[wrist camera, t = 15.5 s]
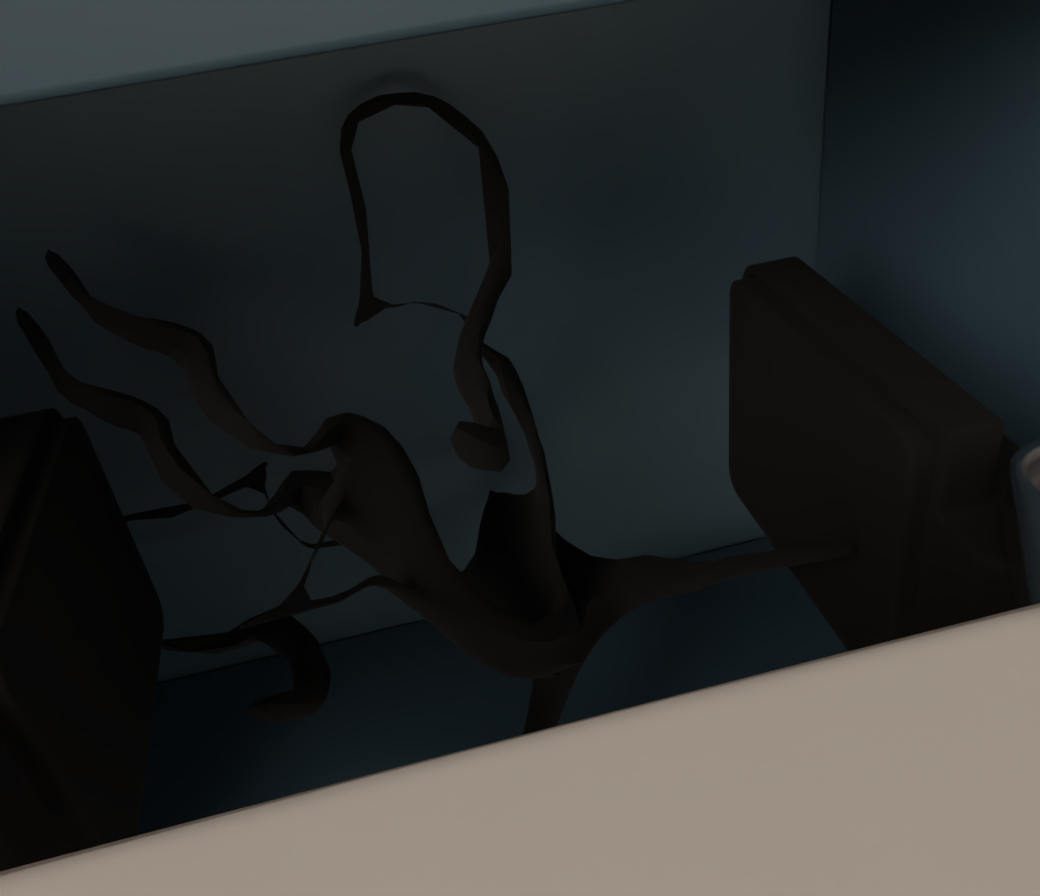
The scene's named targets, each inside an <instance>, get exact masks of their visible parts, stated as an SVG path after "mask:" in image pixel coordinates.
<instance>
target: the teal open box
mask: <svg viewBox="0 0 1040 896" xmlns="http://www.w3.org/2000/svg"><path fill="white" fill-rule="evenodd" d="M404 92H418V93H422V94H427V95H431V96H435V97H437V98H439V99H441V100H443V101H445V102H447V103H449V104H450V105H452V106H453V107H454V108H455V109H457V110H458V111H459V112H461V113H462V114H463V115H465V116H466V117H467V118H468V119H469V120H470V121H472V122H473V123H474V124H475V125H476V126H477V127H478V128H479V129H481V130H482V131H483V133H484V135H485V136H486V138H487V140H488V141H489V143H490V145H491V146H492V148H493V150H494V151H495V153H496V155H497V157H498V160H499V163H500V166H501V168H502V171H503V174H504V177H505V179H506V182H507V185H508V188H509V206H510V236H511V262H512V275H511V277H510V279H509V281H508V283H507V284H506V286H505V288H504V290H503V292H502V293H501V295H500V297H499V299H498V301H497V304H496V307H495V311H494V314H493V317H492V320H491V323H490V325H489V327H488V329H487V332H486V335H485V338H484V342H483V343H485V344H486V345H488V346H489V347H491V348H493V349H494V350H496V351H498V352H499V353H501V354H503V355H505V356H506V357H508V358H509V359H510V361H511V362H512V364H513V365H514V367H515V369H516V371H517V373H518V375H519V378H520V380H521V382H522V384H523V387H524V389H525V393H526V396H527V399H528V402H529V405H530V408H531V411H532V414H533V418H534V421H535V425H536V428H537V432H538V436H539V439H540V441H541V444H542V447H543V449H544V453H545V458H546V464H547V469H548V474H549V479H550V484H551V490H552V496H553V502H554V509H555V516H556V532H557V533H558V534H560V535H561V536H562V537H563V538H564V539H565V540H566V541H567V542H569V543H571V544H572V545H574V546H576V547H577V548H579V549H581V550H582V551H584V552H586V553H587V554H589V555H591V556H596V557H603V558H610V559H623V558H630V557H636V556H641V555H651V556H657V557H663V558H670V559H679V560H687V561H714V560H717V559H721V558H725V557H728V556H733V555H738V554H745V553H754V552H763V551H772V550H776V549H775V548H774V546H773V545H772V543H771V542H770V541H769V539H768V538H767V536H766V535H765V534H764V532H763V531H762V529H761V528H760V527H759V525H758V524H757V522H756V521H755V519H754V518H753V517H752V515H751V514H750V512H749V511H748V510H747V508H746V507H745V505H744V504H743V503H742V501H741V500H740V498H739V497H738V495H737V494H736V492H735V490H734V488H733V485H732V482H731V478H730V473H729V309H730V288H731V285H732V283H733V282H734V281H735V280H740V279H742V277H743V274H744V271H745V269H746V268H747V266H749V265H753V264H758V263H763V262H768V261H773V260H778V259H783V258H788V257H793V256H795V257H797V258H800V259H801V260H802V261H803V262H805V263H806V264H807V265H808V266H810V267H811V268H812V269H813V270H815V271H816V272H817V273H818V274H820V275H821V276H822V277H823V278H825V279H826V280H827V281H828V282H830V283H831V284H832V285H833V286H835V287H836V288H837V289H838V290H840V291H841V292H842V293H843V294H845V295H846V296H847V297H848V298H850V299H851V300H852V301H853V302H855V303H856V304H857V305H859V306H860V307H861V308H862V309H864V310H865V311H866V312H867V313H869V314H870V315H871V316H872V317H874V318H875V319H876V320H877V321H879V322H880V323H881V324H882V325H884V326H885V327H886V328H887V329H889V330H890V331H891V332H892V333H894V334H895V335H896V336H897V337H899V338H900V339H901V340H902V341H904V342H905V343H906V344H907V345H909V346H910V347H911V348H912V349H914V350H915V351H916V352H917V353H919V354H920V355H921V356H922V357H924V358H925V359H926V360H927V361H929V362H930V363H931V364H933V365H934V366H935V367H936V368H938V369H939V370H940V371H941V372H943V373H944V374H945V375H946V376H948V377H949V378H950V379H951V380H953V381H954V382H955V383H956V384H958V385H959V386H960V387H961V388H963V389H964V390H965V391H966V392H968V393H969V394H970V395H971V396H973V397H974V398H975V399H976V400H978V401H979V402H980V403H981V404H983V405H984V406H985V407H986V408H988V409H989V410H990V411H991V412H993V413H994V414H995V415H996V416H998V417H999V418H1000V419H1001V420H1003V421H1004V422H1005V425H1004V430H1003V434H1004V435H1005V436H1006V437H1008V438H1009V439H1010V440H1011V441H1013V442H1014V443H1015V444H1016V445H1018V446H1019V447H1020V448H1022V447H1024V446H1026V445H1028V444H1030V443H1032V442H1034V441H1036V440H1039V439H1040V0H0V418H5V417H10V416H15V415H20V414H25V413H29V412H34V411H39V410H44V409H49V408H54V409H55V410H57V411H58V412H59V413H60V414H61V416H62V417H63V419H65V418H70V417H77V418H78V419H79V420H80V421H81V422H82V424H83V426H84V428H85V429H86V432H87V434H88V436H89V439H90V441H91V443H92V445H93V448H94V450H95V452H96V455H97V457H98V459H99V461H100V464H101V466H102V468H103V471H104V473H105V475H106V478H107V480H108V482H109V484H110V487H111V489H112V491H113V494H114V496H115V498H116V500H117V503H118V505H119V507H120V510H121V512H122V514H123V516H126V515H131V514H135V513H139V512H145V511H150V510H155V509H160V508H165V507H171V506H176V505H181V504H186V502H185V501H184V500H183V499H182V498H181V497H179V496H178V495H177V494H176V493H175V492H174V491H173V490H171V489H170V488H169V487H168V486H167V485H166V484H165V483H163V482H162V480H161V478H160V476H159V474H158V472H157V470H156V468H155V466H154V464H153V462H152V460H151V458H150V455H149V453H148V451H147V449H146V447H145V445H144V443H143V440H142V438H141V436H140V435H139V434H137V433H135V432H132V431H130V430H127V429H123V428H120V427H116V426H114V425H112V424H110V423H107V422H105V421H103V420H101V419H100V418H98V417H97V416H95V415H93V414H92V413H90V412H89V411H87V410H85V409H83V408H81V407H79V406H77V405H74V404H72V403H71V402H69V401H68V400H67V399H66V398H65V397H64V396H63V395H61V394H60V393H59V392H58V391H57V389H56V387H55V385H54V383H53V381H52V379H51V377H50V375H49V373H48V372H47V370H46V369H45V367H44V365H43V364H42V362H41V361H40V359H39V357H38V356H37V354H36V353H35V351H34V349H33V348H32V346H31V344H30V343H29V341H28V339H27V338H26V336H25V334H24V333H23V331H22V329H21V328H20V326H19V324H18V322H17V319H16V316H15V314H16V311H17V307H19V308H21V309H22V310H24V311H26V312H28V313H29V315H30V316H31V317H32V318H33V319H34V321H35V322H36V323H37V324H38V325H39V327H40V328H41V329H42V331H43V332H44V333H45V335H46V336H47V337H48V339H49V340H50V342H51V345H52V347H53V349H54V351H55V354H56V356H57V357H58V359H59V360H60V362H61V364H62V365H63V367H64V369H65V370H66V372H68V373H69V374H70V375H72V376H73V377H75V378H76V379H77V380H79V381H80V382H83V383H87V384H90V385H94V386H98V387H101V388H105V389H109V390H113V391H117V392H120V393H124V394H127V395H130V396H133V397H135V398H138V399H141V400H143V401H145V402H147V403H148V404H150V405H152V406H154V407H156V408H157V409H158V410H159V411H160V412H161V413H162V414H163V415H164V416H166V417H167V418H168V419H169V423H170V427H171V431H172V436H173V440H174V444H175V446H176V447H177V449H178V450H179V451H180V452H181V454H182V455H183V456H184V458H185V459H186V460H187V462H188V463H189V464H190V466H191V467H192V468H193V470H194V471H195V472H196V473H197V475H198V476H199V477H200V479H201V480H202V481H203V483H204V484H205V485H206V487H207V488H208V489H209V491H210V492H211V493H212V494H214V493H216V492H218V491H219V490H221V489H223V488H225V487H226V486H228V485H230V484H232V483H234V482H235V481H237V480H239V479H241V478H243V477H244V476H246V475H247V474H249V473H250V472H251V471H252V470H253V469H255V468H256V467H257V466H259V465H260V464H262V463H263V462H264V463H265V462H266V461H267V466H266V468H265V469H266V472H267V476H266V483H265V487H266V491H267V495H268V498H269V501H270V499H271V498H272V497H273V496H274V495H275V493H276V492H277V490H278V488H279V487H280V485H281V484H282V482H283V481H284V479H285V478H286V477H287V476H288V475H289V473H290V472H291V471H301V470H312V471H326V472H332V471H333V469H334V468H335V466H336V465H337V462H336V460H335V457H334V455H333V453H332V450H331V448H330V447H328V448H326V449H323V450H320V451H318V452H314V453H309V454H305V455H299V456H288V455H281V454H275V453H270V452H266V451H261V450H256V449H252V448H248V447H247V446H245V445H244V444H242V443H241V442H239V441H238V440H236V439H235V438H233V437H232V436H231V435H229V434H228V433H226V432H225V431H223V430H222V429H220V428H219V427H217V426H216V425H214V424H213V423H211V422H210V421H208V419H207V418H206V416H205V414H204V413H203V411H202V410H201V408H200V407H199V405H198V404H197V402H196V400H195V399H194V397H193V396H192V394H191V393H190V390H189V387H188V383H187V379H186V376H185V372H184V369H183V368H182V367H181V366H180V365H179V364H178V363H176V362H175V361H174V360H173V359H172V358H171V357H170V356H167V355H164V354H161V353H158V352H155V351H152V350H148V349H145V348H141V347H139V346H137V345H135V344H132V343H130V342H128V341H126V340H124V339H122V338H120V337H119V336H117V335H115V334H113V333H111V332H109V331H108V330H106V329H104V328H103V327H101V326H100V325H98V324H96V323H95V322H94V321H93V320H92V319H91V317H90V316H89V315H88V313H87V312H86V311H85V309H84V308H83V306H82V305H81V304H80V303H79V302H77V301H76V300H75V299H74V298H73V297H72V296H71V295H70V293H69V292H68V291H67V290H66V288H65V287H64V286H63V284H62V283H61V282H60V280H59V279H58V278H57V277H56V275H55V274H54V273H53V272H52V270H51V269H50V268H49V267H48V264H47V262H46V259H45V256H46V253H47V251H48V249H49V250H51V251H53V252H55V253H57V254H58V255H59V256H60V257H61V258H62V259H63V260H64V261H65V262H66V263H67V264H68V265H69V266H70V267H71V268H72V270H73V271H74V272H75V274H76V275H77V277H78V278H79V279H80V281H81V282H82V284H83V285H84V287H85V289H86V290H87V292H88V293H89V295H90V296H91V297H93V298H95V299H97V300H99V301H101V302H104V303H106V304H108V305H110V306H113V307H115V308H117V309H120V310H122V311H124V312H127V313H130V314H133V315H136V316H139V317H144V318H152V319H159V320H164V321H169V322H173V323H177V324H180V325H183V326H186V327H189V328H191V329H193V330H195V331H197V332H199V333H201V334H202V335H203V336H204V337H205V338H206V339H207V340H208V341H209V342H210V343H211V344H212V345H213V349H214V353H215V358H216V364H217V374H218V377H219V379H220V380H221V381H222V383H223V384H224V386H225V387H226V389H227V390H228V392H229V393H230V395H231V396H232V398H233V399H234V401H235V402H236V404H237V405H238V407H239V408H240V410H241V411H242V413H243V414H244V415H245V417H246V418H247V420H248V421H249V423H251V424H252V425H253V426H254V427H256V428H257V429H258V430H259V431H261V432H262V433H263V434H264V435H266V436H267V437H268V438H269V439H271V440H272V441H273V442H274V443H276V444H284V445H291V446H299V447H304V446H305V445H306V444H307V443H308V442H309V441H310V439H311V438H312V437H313V436H314V435H315V434H316V433H317V431H318V429H319V428H320V426H321V425H322V423H323V421H324V420H325V418H328V417H332V416H335V415H338V414H342V413H353V414H357V415H360V416H364V417H366V418H368V419H370V420H372V421H374V422H376V423H378V424H380V425H382V426H384V427H385V428H386V429H387V430H388V431H389V433H390V434H391V435H392V436H393V437H394V438H395V439H396V440H397V441H398V442H399V443H400V445H401V446H402V447H403V448H404V450H405V452H406V454H407V455H408V457H409V459H410V461H411V463H412V464H413V466H414V468H415V470H416V472H417V473H418V475H419V478H420V482H421V485H422V489H423V492H424V496H425V499H426V503H427V506H428V510H429V513H430V516H431V518H432V520H433V523H434V525H435V527H436V530H437V532H438V534H439V537H440V539H441V541H442V544H443V546H444V548H445V551H446V553H447V555H448V558H449V560H450V561H451V562H452V563H453V564H454V565H455V566H456V568H457V569H458V570H459V571H460V572H461V571H463V570H464V569H465V568H466V566H467V565H468V563H469V562H470V560H471V559H472V557H473V556H474V554H475V551H476V545H477V539H478V533H479V527H480V522H481V519H482V515H483V511H484V507H485V505H486V502H487V500H488V496H489V492H490V490H492V491H495V492H497V493H501V492H507V493H511V494H527V493H528V492H530V491H531V490H533V489H534V487H535V485H536V474H535V466H534V463H533V459H532V456H531V453H530V450H529V446H528V443H527V440H526V437H525V434H524V432H523V430H522V428H521V426H520V424H519V422H518V420H517V418H516V416H515V414H514V413H513V411H512V409H511V408H510V406H509V404H508V402H507V401H506V399H505V397H504V396H503V394H502V391H501V388H500V384H499V381H498V377H497V375H496V374H495V373H494V371H493V370H492V368H491V367H490V366H489V364H488V363H487V361H486V360H485V359H484V358H483V357H482V362H483V367H484V369H485V371H486V374H487V376H488V378H489V381H490V384H491V387H492V391H493V394H494V398H495V400H496V403H497V405H498V407H499V411H500V415H501V419H502V423H503V427H504V432H505V436H506V439H507V444H508V449H509V455H510V461H509V462H508V464H507V465H506V466H505V468H504V469H503V470H502V471H501V472H497V471H490V470H488V471H483V470H479V469H475V468H471V467H469V466H468V465H467V464H466V463H465V462H464V461H462V460H461V459H460V458H459V457H458V456H457V455H456V452H455V450H454V448H453V445H452V443H451V441H450V437H451V435H452V433H453V431H454V429H455V427H456V426H457V424H458V423H459V421H465V422H474V420H473V418H472V415H471V413H470V410H469V407H468V406H467V404H466V402H465V401H464V399H463V398H462V396H461V394H460V393H459V391H458V388H457V385H456V382H455V378H454V372H453V365H454V360H455V355H456V350H457V345H458V341H459V337H460V333H461V331H462V328H463V326H464V323H465V322H464V321H463V319H462V318H461V316H460V315H459V314H457V313H453V312H450V311H446V310H442V309H439V308H435V307H432V306H428V305H424V304H421V303H411V302H427V303H435V304H439V305H441V306H444V307H446V308H449V309H451V310H454V311H456V312H459V313H461V314H464V315H466V316H468V313H469V311H470V309H471V306H472V304H473V302H474V299H475V297H476V295H477V292H478V290H479V288H480V285H481V283H482V280H483V278H484V276H485V273H486V270H487V267H488V264H489V251H488V241H487V230H486V220H485V210H484V199H483V189H482V179H481V169H480V158H479V148H478V147H477V146H475V145H474V144H473V143H472V142H471V141H469V140H468V139H467V138H466V137H464V136H463V135H462V134H461V133H459V132H458V131H457V130H456V129H454V128H453V127H452V126H451V125H449V124H448V123H447V122H446V121H445V120H443V119H442V118H441V117H440V116H438V115H437V114H436V113H435V112H433V111H432V110H431V109H430V108H428V107H416V106H403V105H394V106H391V107H389V108H387V109H385V110H383V111H381V112H379V113H377V114H374V115H372V116H370V117H368V118H366V119H364V120H362V121H360V122H359V123H358V127H357V131H356V134H355V138H354V142H353V146H352V149H351V151H352V155H353V159H354V163H355V167H356V170H357V174H358V178H359V182H360V186H361V190H362V194H363V198H364V202H365V206H366V213H367V227H368V240H369V254H370V267H371V279H372V290H373V294H374V297H376V298H379V299H381V300H383V301H386V302H388V303H390V304H403V303H409V304H406V305H403V306H399V307H392V308H385V309H384V310H382V311H381V312H379V313H378V314H376V315H375V316H373V317H372V318H371V319H369V320H367V321H365V322H362V323H361V324H360V325H359V326H358V327H355V326H354V319H355V315H356V312H357V308H358V305H359V296H360V276H361V256H362V251H361V246H360V241H359V236H358V231H357V226H356V221H355V216H354V211H353V206H352V201H351V196H350V191H349V187H348V183H347V179H346V175H345V171H344V167H343V163H342V159H341V155H340V138H341V128H342V126H343V124H344V121H345V119H346V117H347V115H348V114H349V113H350V112H352V111H353V110H354V109H355V108H356V107H357V106H358V105H360V104H361V103H364V102H366V101H368V100H370V99H372V98H374V97H376V96H378V95H385V94H393V93H404ZM474 423H475V422H474ZM220 499H222V500H224V501H226V502H228V503H230V504H231V505H233V506H235V507H237V508H239V509H241V510H261V509H263V508H264V506H265V505H266V504H267V503H268V500H267V498H266V496H265V494H264V493H262V492H259V491H256V490H254V489H251V488H248V487H246V488H243V489H240V490H238V491H236V492H233V493H231V494H229V495H226V496H224V497H222V498H220ZM276 514H277V516H278V517H279V518H280V519H281V520H282V521H283V522H284V523H285V524H286V525H287V527H288V528H289V529H290V530H291V531H292V532H293V533H294V534H295V535H296V536H297V538H298V539H299V540H301V541H304V542H307V543H310V544H316V543H318V541H319V538H320V535H321V531H320V530H318V529H316V527H315V526H314V525H313V524H312V523H311V522H310V521H309V520H308V519H307V518H306V517H305V516H304V515H303V514H302V513H300V512H298V511H297V510H295V509H293V508H291V507H287V508H286V509H284V510H283V511H281V512H279V513H276ZM126 523H127V526H128V528H129V530H130V533H131V535H132V537H133V539H134V542H135V544H136V546H137V549H138V551H139V553H140V555H141V558H142V560H143V562H144V565H145V567H146V569H147V572H148V574H149V576H150V578H151V581H152V583H153V585H154V588H155V590H156V592H157V594H158V597H159V600H160V603H161V607H162V611H163V618H164V632H163V640H166V639H174V638H183V637H192V636H200V635H209V634H218V633H226V632H229V631H231V630H232V629H234V628H235V627H237V626H239V625H240V624H242V623H243V622H245V621H247V620H248V619H250V618H251V617H254V616H257V615H259V614H262V613H264V612H266V611H268V610H271V609H273V608H275V607H277V606H279V605H280V604H281V603H282V602H283V601H284V600H285V599H286V598H287V597H288V596H289V595H290V593H291V592H292V591H293V590H294V588H295V587H296V586H297V585H298V583H299V582H300V580H301V578H302V576H303V574H304V572H305V570H306V567H307V565H308V563H309V561H310V559H311V557H312V554H313V552H314V550H315V549H312V548H309V547H306V546H304V545H303V544H302V543H300V542H299V541H298V540H297V539H296V538H295V537H294V536H293V535H291V534H290V533H289V532H288V531H287V530H286V529H285V528H284V527H282V525H281V524H280V523H279V521H278V520H277V519H276V517H275V515H274V514H273V515H271V516H267V517H251V518H239V517H229V516H224V515H220V514H215V513H211V512H206V511H202V510H197V509H192V510H190V511H187V512H185V513H182V514H179V515H177V516H174V517H172V518H161V519H144V520H131V521H128V522H126ZM327 541H333V539H332V538H330V537H329V536H327V535H325V538H324V540H323V542H327ZM375 575H381V574H380V573H378V572H377V571H376V570H375V569H374V568H373V567H372V566H371V565H370V564H368V563H367V562H366V561H364V560H363V559H362V558H360V557H359V556H357V555H356V554H354V553H353V552H351V551H350V550H348V549H347V548H345V547H344V546H342V545H340V546H332V547H325V548H319V549H318V551H317V553H316V555H315V557H314V559H313V561H312V564H311V568H310V571H309V574H308V577H307V580H306V583H305V585H304V587H305V589H306V591H307V593H308V595H309V597H310V599H311V600H316V599H321V598H326V597H331V596H334V595H337V594H339V593H342V592H344V591H347V590H349V589H351V588H353V587H354V586H356V585H357V584H359V583H360V582H362V581H364V580H365V579H367V578H369V577H371V576H375ZM292 617H294V618H295V619H296V620H297V621H299V622H300V623H301V624H302V625H303V626H305V627H306V628H307V629H308V630H309V631H310V632H311V633H312V634H313V636H314V637H315V638H316V639H317V640H318V642H319V645H320V647H321V650H322V652H323V654H324V656H325V658H326V660H327V662H328V664H329V667H330V675H331V679H330V687H329V691H328V694H327V697H326V700H325V702H324V703H323V704H322V706H321V707H320V708H319V710H318V711H317V712H316V713H315V714H312V715H309V716H306V717H304V718H301V719H298V720H296V721H285V722H273V721H269V720H264V719H260V718H257V717H255V716H253V715H251V714H249V713H247V712H246V711H247V710H248V708H249V707H250V706H251V705H252V704H253V703H254V702H255V701H256V700H257V699H260V698H263V697H266V696H270V695H273V694H276V693H281V692H286V691H291V690H294V682H293V675H292V670H291V665H290V662H289V661H288V660H287V658H285V657H284V656H282V655H280V654H279V653H277V652H276V651H275V650H273V649H272V648H270V647H269V646H268V645H266V644H265V643H263V642H256V643H252V644H250V645H249V646H246V647H242V648H238V649H234V650H230V651H226V652H222V653H218V654H211V653H194V652H178V651H167V650H164V649H162V648H161V656H160V663H159V671H158V679H157V687H156V695H155V703H154V710H153V718H152V726H151V734H150V742H149V750H148V758H147V765H146V773H145V781H144V789H143V797H142V805H141V813H140V820H139V828H138V835H141V834H145V833H149V832H153V831H156V830H160V829H164V828H168V827H171V826H175V825H179V824H183V823H187V822H190V821H194V820H198V819H202V818H206V817H209V816H213V815H217V814H221V813H225V812H228V811H232V810H236V809H240V808H244V807H247V806H251V805H255V804H259V803H263V802H266V801H270V800H274V799H278V798H282V797H285V796H289V795H293V794H297V793H301V792H305V791H308V790H312V789H316V788H320V787H324V786H328V785H331V784H335V783H339V782H343V781H347V780H351V779H354V778H358V777H362V776H366V775H370V774H374V773H377V772H381V771H385V770H389V769H393V768H397V767H400V766H404V765H408V764H412V763H416V762H420V761H424V760H427V759H431V758H435V757H439V756H443V755H447V754H451V753H455V752H458V751H462V750H466V749H470V748H474V747H478V746H482V745H485V744H489V743H493V742H497V741H501V740H505V739H509V738H512V737H516V736H520V735H523V731H524V727H525V722H526V717H527V712H528V707H529V701H530V696H531V691H532V685H533V680H534V679H524V678H514V677H509V676H506V675H504V674H502V673H500V672H498V671H495V670H493V669H491V668H489V667H487V666H486V665H484V664H483V663H481V662H480V661H478V660H477V659H475V658H474V657H472V656H471V655H469V654H468V653H466V652H465V651H464V650H462V649H461V648H459V647H458V646H456V645H455V644H454V643H453V642H452V641H451V640H449V639H448V638H447V637H446V636H445V635H444V634H442V633H441V632H440V631H439V630H438V629H437V628H435V627H434V626H433V625H432V624H431V623H430V622H428V621H427V620H426V619H424V618H423V617H422V616H420V615H419V614H418V613H417V612H415V611H414V610H413V609H411V608H410V607H409V606H407V605H406V604H405V603H404V602H402V601H401V600H400V599H399V598H397V597H396V596H395V595H394V594H392V593H391V592H389V591H388V590H386V589H384V588H380V587H376V586H370V587H366V588H364V589H362V590H361V591H359V592H357V593H355V594H353V595H351V596H349V597H348V598H346V599H345V600H343V601H341V602H338V603H335V604H332V605H328V606H324V607H320V608H316V609H313V610H310V611H306V612H303V613H300V614H297V615H293V616H292ZM844 652H848V650H847V649H846V648H845V646H844V645H843V643H842V642H841V641H840V639H839V638H838V636H837V635H836V633H835V632H834V631H833V629H832V628H831V626H830V625H829V624H828V622H827V621H826V619H825V618H824V617H823V615H822V614H821V612H820V611H819V610H818V608H817V607H816V605H815V604H814V603H813V601H812V600H811V598H810V597H809V595H808V594H807V593H806V591H805V590H804V588H803V587H802V586H801V584H800V583H799V581H798V580H797V579H796V577H795V576H794V574H793V573H792V572H791V570H790V569H789V567H784V568H778V569H772V570H766V571H761V572H757V573H752V574H748V575H744V576H739V577H735V578H731V579H728V580H725V581H722V582H719V583H717V584H714V585H712V586H709V587H707V588H704V589H702V590H699V591H695V592H690V593H684V594H679V595H674V596H669V597H665V598H662V599H659V600H656V601H653V602H650V603H647V604H644V605H642V606H640V607H638V608H636V609H634V610H632V611H631V612H629V613H628V614H626V615H625V616H623V617H622V618H621V619H619V620H618V621H617V622H616V623H615V624H614V625H613V626H612V627H611V628H610V629H609V630H608V631H607V632H606V633H605V634H604V635H603V636H602V637H601V638H600V640H599V641H598V642H597V644H596V645H595V646H594V648H593V649H592V650H591V652H590V653H589V655H588V657H587V659H586V660H585V662H584V664H583V666H582V667H581V669H580V671H579V673H578V675H577V677H576V680H575V682H574V684H573V687H572V689H571V691H570V694H569V696H568V698H567V701H566V703H565V706H564V708H563V711H562V714H561V716H560V719H559V722H558V724H557V726H559V725H563V724H567V723H570V722H574V721H578V720H582V719H586V718H590V717H594V716H598V715H602V714H606V713H609V712H613V711H617V710H621V709H625V708H629V707H633V706H637V705H641V704H644V703H648V702H652V701H656V700H660V699H664V698H668V697H672V696H676V695H679V694H683V693H687V692H691V691H695V690H699V689H703V688H707V687H711V686H715V685H718V684H722V683H726V682H730V681H734V680H738V679H742V678H746V677H750V676H754V675H758V674H762V673H765V672H769V671H773V670H777V669H781V668H785V667H789V666H793V665H797V664H801V663H805V662H809V661H812V660H816V659H820V658H824V657H828V656H832V655H836V654H840V653H844Z"/></svg>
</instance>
